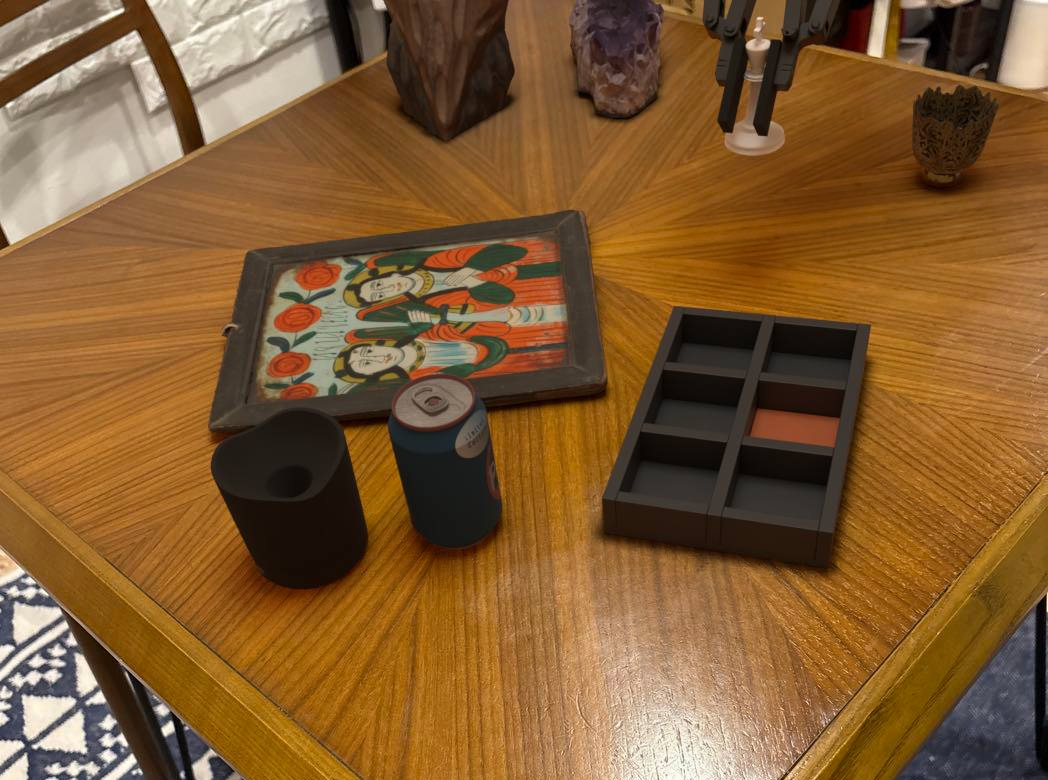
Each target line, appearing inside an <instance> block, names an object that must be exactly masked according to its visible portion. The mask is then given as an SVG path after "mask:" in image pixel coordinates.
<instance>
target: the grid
mask: <svg viewBox="0 0 1048 780" xmlns="http://www.w3.org/2000/svg"><path fill="white" fill-rule="evenodd" d="M871 329H872V324H870V323H862V322H859V323H858V322H850V321H839V320H829V319H819V318H810V317H809V318H808V317H807V318H806V317H798V316H797V317H796V316H787V315H776V314H766V313H765V314H764V313H756V312H747V311H737V310H736V311H735V310H724V309H714V308H703V307H692V306H681V305H674V306H673V307H672V310H671V313H670V315H669V318H668V321H667V324H666V326H665V329H664V331H663V335H662V337H661V340H660V343H659V345H658V348H657V350H656V353H655V355H654V359H653V361H652V364H651V366H650V369H649V371H648V374H647V377H646V379H645V382H644V385H643V388H642V390H641V392H640V396H639V399H638V401H637V404H636V406H635V408H634V411H633V414H632V416H631V418H630V419H631V420H630V422H629V424H628V427H627V431H626V433H625V436H624V438H623V440H622V444H621V445H620V449H619V451H618V455H617V457H616V460H615V462H614V465H613V468H612V471H611V473H610V476H609V479H608V481H607V483H606V486H605V489H604V491H603V494H602V497H601V507H602V518H603V519H602V520H603V521H602V522H603V532H604V534H610V535H616V536H623V537H629V538H633V539H634V538H635V539H641V540H648V541H654V542H661V543H665V544H672V545H679V546H685V547H691V548H698V549H705V550H710V551H716V552H722V553H728V554H734V555H741V556H747V557H754V558H761V559H766V560H772V561H778V562H779V561H780V562H786V563H793V564H797V565H804V566H811V567H818V568H823V569H829V567H830V562H831V556H832V550H833V544H834V539H835V533H836V529H837V528H836V527H837V523H838V516H839V513H840V512H839V511H840V505H841V502H842V501H841V500H842V496H843V489H844V483H845V478H846V473H847V467H848V462H849V457H850V450H851V445H852V440H853V434H854V428H855V422H856V418H857V412H858V406H859V401H860V395H861V389H862V385H863V378H864V372H865V367H866V362H867V356H868V355H867V354H868V349H869V342H870V336H871V335H870V334H871Z"/></svg>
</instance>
